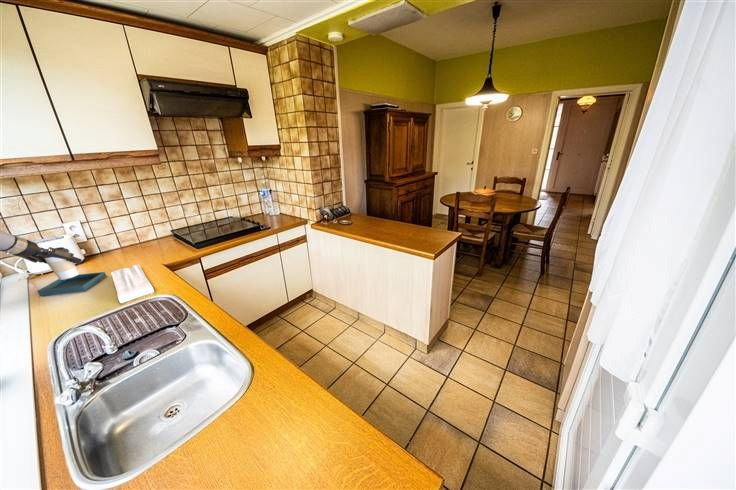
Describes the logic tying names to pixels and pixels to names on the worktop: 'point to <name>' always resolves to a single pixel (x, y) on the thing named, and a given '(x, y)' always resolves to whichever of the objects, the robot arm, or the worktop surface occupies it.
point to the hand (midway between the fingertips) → (69, 262)
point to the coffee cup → (62, 266)
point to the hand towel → (131, 283)
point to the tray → (72, 284)
